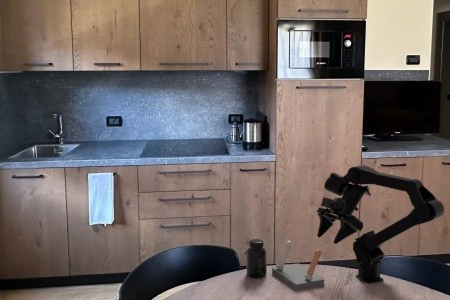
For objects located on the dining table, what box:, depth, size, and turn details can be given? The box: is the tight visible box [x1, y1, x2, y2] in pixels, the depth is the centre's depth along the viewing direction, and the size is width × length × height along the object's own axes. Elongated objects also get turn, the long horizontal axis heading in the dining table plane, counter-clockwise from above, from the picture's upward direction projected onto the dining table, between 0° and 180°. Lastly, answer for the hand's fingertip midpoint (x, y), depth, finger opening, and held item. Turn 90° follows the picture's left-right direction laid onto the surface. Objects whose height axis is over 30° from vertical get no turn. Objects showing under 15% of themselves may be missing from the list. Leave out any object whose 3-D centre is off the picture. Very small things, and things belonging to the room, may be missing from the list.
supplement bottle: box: [245, 238, 268, 279], centre depth 156 cm, size 7×7×12 cm
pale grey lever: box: [275, 240, 293, 270], centre depth 156 cm, size 2×2×10 cm
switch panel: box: [271, 263, 325, 292], centre depth 153 cm, size 10×16×2 cm
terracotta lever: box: [304, 248, 323, 281], centre depth 147 cm, size 2×2×10 cm
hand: (326, 240), depth 152 cm, fingers open, 9 cm apart
